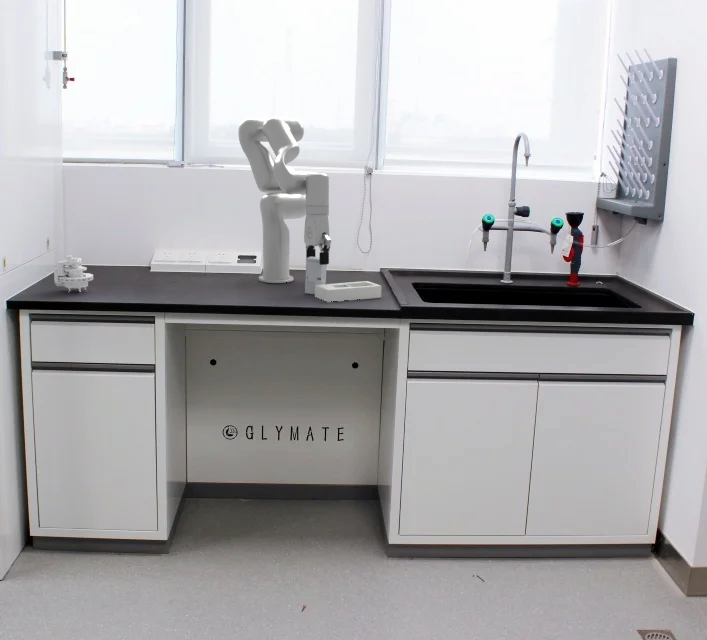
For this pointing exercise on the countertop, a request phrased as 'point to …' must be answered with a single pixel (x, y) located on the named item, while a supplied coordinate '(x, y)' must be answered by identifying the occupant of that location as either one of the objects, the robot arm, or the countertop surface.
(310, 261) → the skincare box
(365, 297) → the holder
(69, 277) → the mechanical part
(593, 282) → the countertop surface
